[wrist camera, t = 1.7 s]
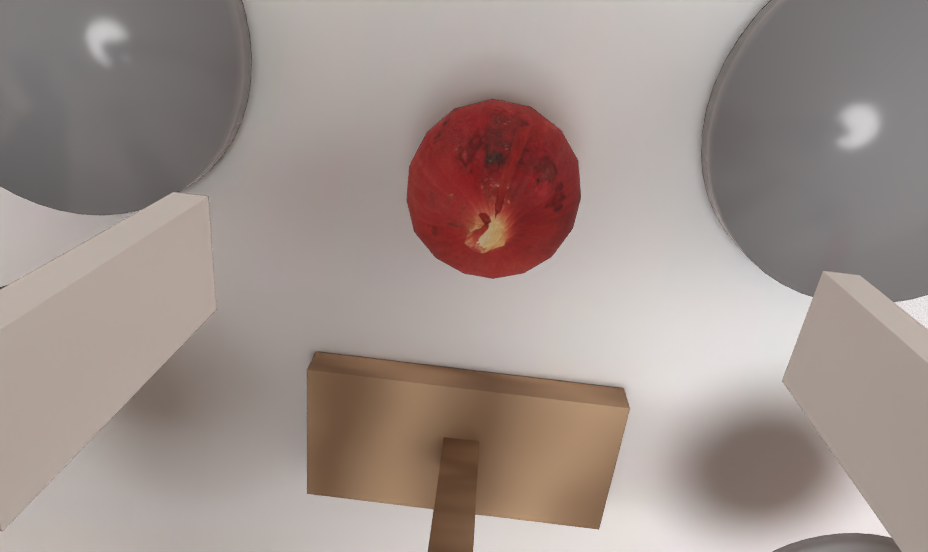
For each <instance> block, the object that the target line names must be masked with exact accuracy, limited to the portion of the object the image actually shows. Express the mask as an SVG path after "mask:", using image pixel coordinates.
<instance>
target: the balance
mask: <svg viewBox="0 0 928 552" xmlns="http://www.w3.org/2000/svg"><path fill="white" fill-rule="evenodd" d="M629 410H630V407H629V404H628V401H627V397H626V394H625V391H624V389H623V388H615V387H606V386H598V385H590V384H581V383H573V382H564V381H556V380H548V379H539V378H531V377H523V376H514V375H506V374H497V373H489V372H481V371H472V370H464V369H456V368H447V367H439V366H430V365H422V364H414V363H405V362H397V361H388V360H380V359H372V358H363V357H355V356H347V355H338V354H330V353H321V352H316V354H315V356H314V358H313V359H312V361H311V363H310V365H309V367H308V369H307V494H314V495H322V496H331V497H339V498H347V499H355V500H363V501H371V502H380V503H388V504H396V505H404V506H412V507H420V508H429V509H434V512H433V519H432V526H431V533H430V540H429V547H428V552H473V543H474V526H475V514H477V515H486V516H494V517H502V518H510V519H518V520H526V521H535V522H543V523H551V524H559V525H567V526H575V527H584V528H592V529H599V527H600V523H601V520H602V516H603V512H604V508H605V504H606V500H607V496H608V492H609V488H610V484H611V480H612V477H613V473H614V469H615V465H616V461H617V457H618V453H619V449H620V445H621V441H622V437H623V434H624V430H625V426H626V422H627V418H628V414H629ZM773 552H902V551H901V550H900V549H899V547H898V546H897V544H896V543H895V541H894V540H893V539H892V538H890V537H885V536H879V535H873V534H861V533H843V534H832V535H823V536H818V537H813V538H809V539H805V540H801V541H798V542H795V543H792V544H789V545H787V546H784V547H782V548H779V549H777V550H775V551H773Z"/></svg>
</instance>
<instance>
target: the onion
mask: <svg viewBox="0 0 928 552" xmlns="http://www.w3.org/2000/svg"><path fill="white" fill-rule="evenodd" d="M580 199H581V191H580V178H579V166H578V160H577V158H576V156H575V154H574V153H573V151H572V149H571V147H570V145H569V144H568V142H567V140H566V138H565V136H564V135H563V133H562V131H561V130H560V129H559V128H557V127H556V126H555V125H554V124H552V123H551V122H550V121H548V120H547V119H546V118H545V117H543V116H542V115H541V114H539V113H538V112H537V111H536V110H534V109H533V108H532V107H529V106H525V105H520V104H515V103H510V102H505V101H500V100H495V99H491V100H487V101H483V102H479V103H475V104H471V105H467V106H463V107H459V108H455V109H453V110H452V111H451V112H450V113H449V114H448V115H446V116H445V117H444V118H443V119H442V120H441V121H439V122H438V123H437V124H436V125H435V126H433V127H432V128H431V129H430V130H429V131H428V132H427V133H426V135H425V137H424V139H423V141H422V143H421V144H420V146H419V148H418V150H417V152H416V154H415V156H414V158H413V159H412V161H411V164H410V166H409V176H408V189H407V203H408V208H409V212H410V216H411V220H412V224H413V228H414V232H415V233H416V234H417V236H418V237H419V238H420V239H421V241H422V242H423V243H424V244H425V245H426V247H427V248H428V249H429V250H430V251H431V253H432V254H433V255H434V256H435V257H436V258H437V259H439V260H441V261H442V262H444V263H446V264H448V265H450V266H451V267H453V268H455V269H457V270H459V271H460V272H462V273H465V274H470V275H476V276H481V277H487V278H492V279H494V278H499V277H505V276H510V275H516V274H522V273H525V272H526V271H528V270H530V269H532V268H533V267H535V266H537V265H539V264H540V263H542V262H544V261H545V260H547V259H549V258H551V257H552V255H553V254H554V253H555V252H556V250H557V249H558V248H559V246H560V245H561V244H562V242H563V241H564V240H565V238H566V237H567V236H568V234H569V233H570V232H571V230H572V229H573V226H574V222H575V218H576V214H577V211H578V207H579V203H580Z"/></svg>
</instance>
